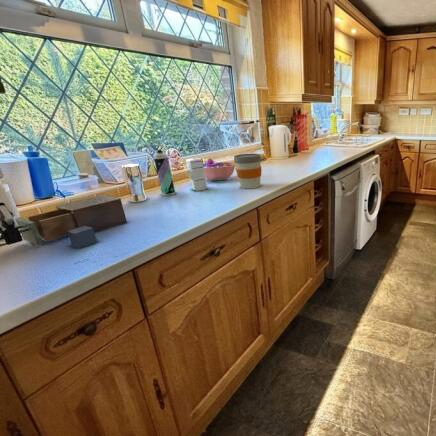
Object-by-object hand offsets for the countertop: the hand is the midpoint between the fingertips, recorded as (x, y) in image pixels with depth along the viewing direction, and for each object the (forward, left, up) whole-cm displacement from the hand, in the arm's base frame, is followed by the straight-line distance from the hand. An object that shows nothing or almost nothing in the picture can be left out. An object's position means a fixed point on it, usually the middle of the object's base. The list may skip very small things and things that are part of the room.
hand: (10, 239), depth 83 cm
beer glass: (+45, +19, -4) cm, 49 cm away
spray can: (+57, +16, -4) cm, 60 cm away
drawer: (+7, 0, -2) cm, 8 cm away
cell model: (+87, +17, -4) cm, 89 cm away
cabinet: (+20, 0, -3) cm, 21 cm away
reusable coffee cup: (+83, -10, -4) cm, 84 cm away
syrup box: (+69, +10, -4) cm, 70 cm away
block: (+11, -13, -3) cm, 18 cm away
